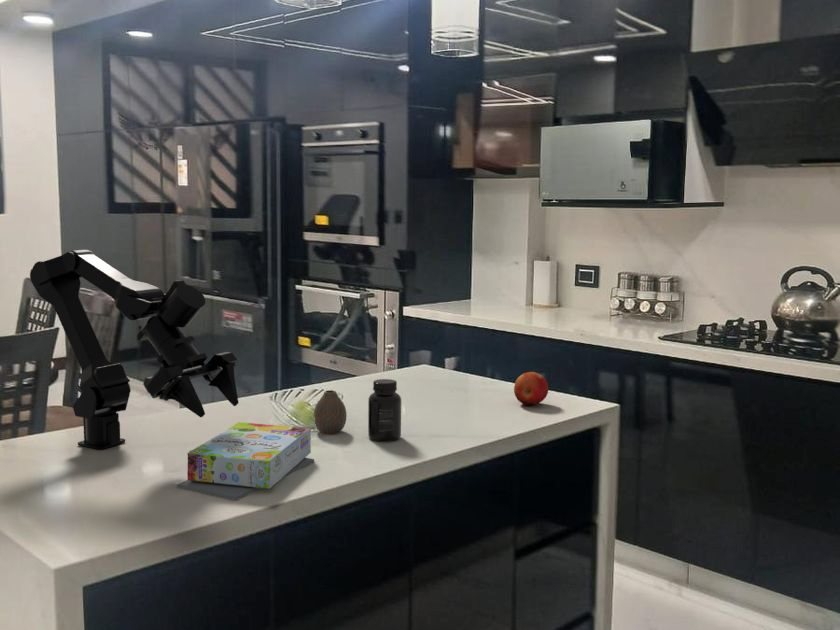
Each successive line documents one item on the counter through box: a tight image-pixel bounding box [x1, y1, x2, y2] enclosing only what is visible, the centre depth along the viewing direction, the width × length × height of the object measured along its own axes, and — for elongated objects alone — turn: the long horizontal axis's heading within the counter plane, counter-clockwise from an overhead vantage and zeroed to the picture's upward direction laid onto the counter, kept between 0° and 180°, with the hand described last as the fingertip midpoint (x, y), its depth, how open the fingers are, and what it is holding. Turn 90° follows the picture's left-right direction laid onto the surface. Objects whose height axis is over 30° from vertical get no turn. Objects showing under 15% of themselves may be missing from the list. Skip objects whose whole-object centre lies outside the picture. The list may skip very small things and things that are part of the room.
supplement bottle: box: [367, 378, 402, 443], centre depth 174 cm, size 7×7×12 cm
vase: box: [313, 390, 347, 435], centre depth 178 cm, size 7×7×9 cm
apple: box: [513, 371, 549, 406], centre depth 205 cm, size 8×8×8 cm
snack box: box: [187, 421, 312, 490], centre depth 151 cm, size 21×6×15 cm
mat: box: [176, 457, 315, 501], centre depth 150 cm, size 12×23×1 cm, turn 154°
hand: (220, 410), depth 151 cm, fingers open, 9 cm apart
